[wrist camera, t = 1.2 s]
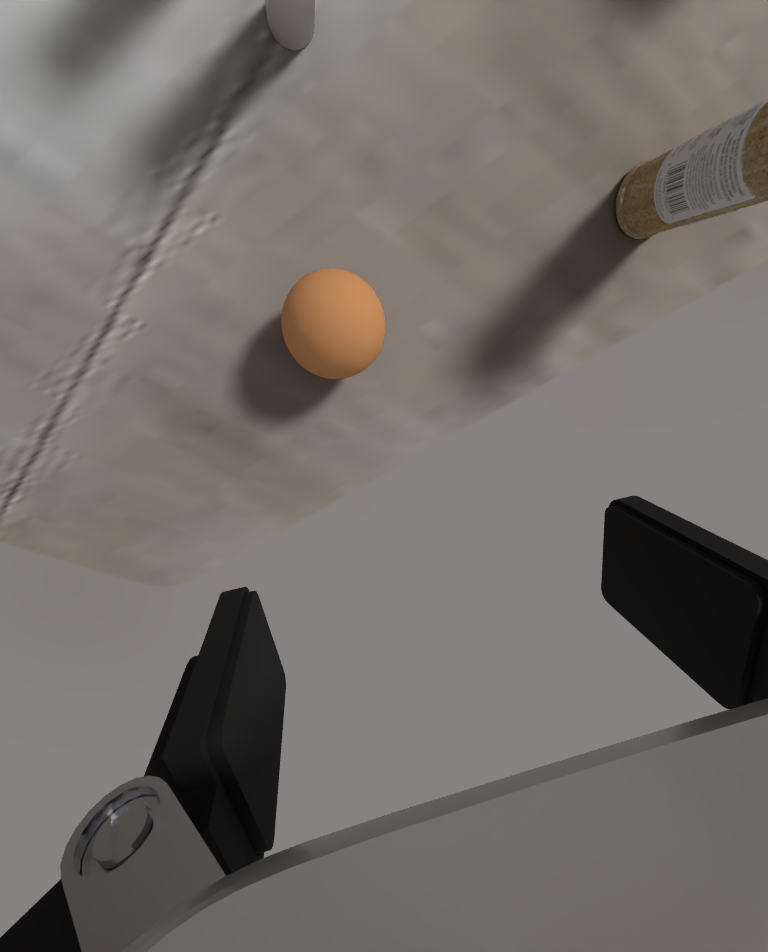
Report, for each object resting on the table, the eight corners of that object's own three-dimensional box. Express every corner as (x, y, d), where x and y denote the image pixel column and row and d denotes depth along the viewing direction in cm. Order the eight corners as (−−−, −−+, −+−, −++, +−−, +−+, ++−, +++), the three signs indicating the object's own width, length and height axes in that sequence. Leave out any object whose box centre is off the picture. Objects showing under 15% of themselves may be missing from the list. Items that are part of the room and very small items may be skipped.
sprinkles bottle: (665, 238, 28) (956, 161, 15) (607, 241, 27) (862, 162, 15) (677, 160, 26) (1014, 1, 14) (616, 161, 25) (911, -5, 13)
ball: (293, 379, 26) (289, 390, 21) (276, 280, 24) (266, 264, 19) (380, 369, 27) (399, 378, 22) (371, 272, 25) (389, 255, 19)
